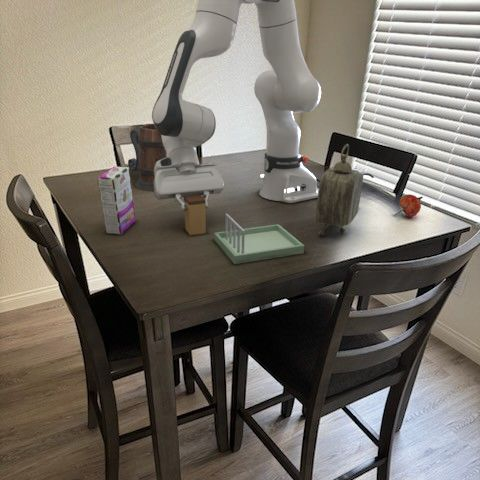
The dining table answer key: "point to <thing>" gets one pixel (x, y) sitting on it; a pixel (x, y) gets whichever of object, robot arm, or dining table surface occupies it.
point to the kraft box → (195, 215)
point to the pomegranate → (410, 205)
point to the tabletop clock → (339, 194)
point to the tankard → (146, 154)
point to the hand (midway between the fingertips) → (195, 209)
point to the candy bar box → (116, 199)
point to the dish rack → (256, 242)
